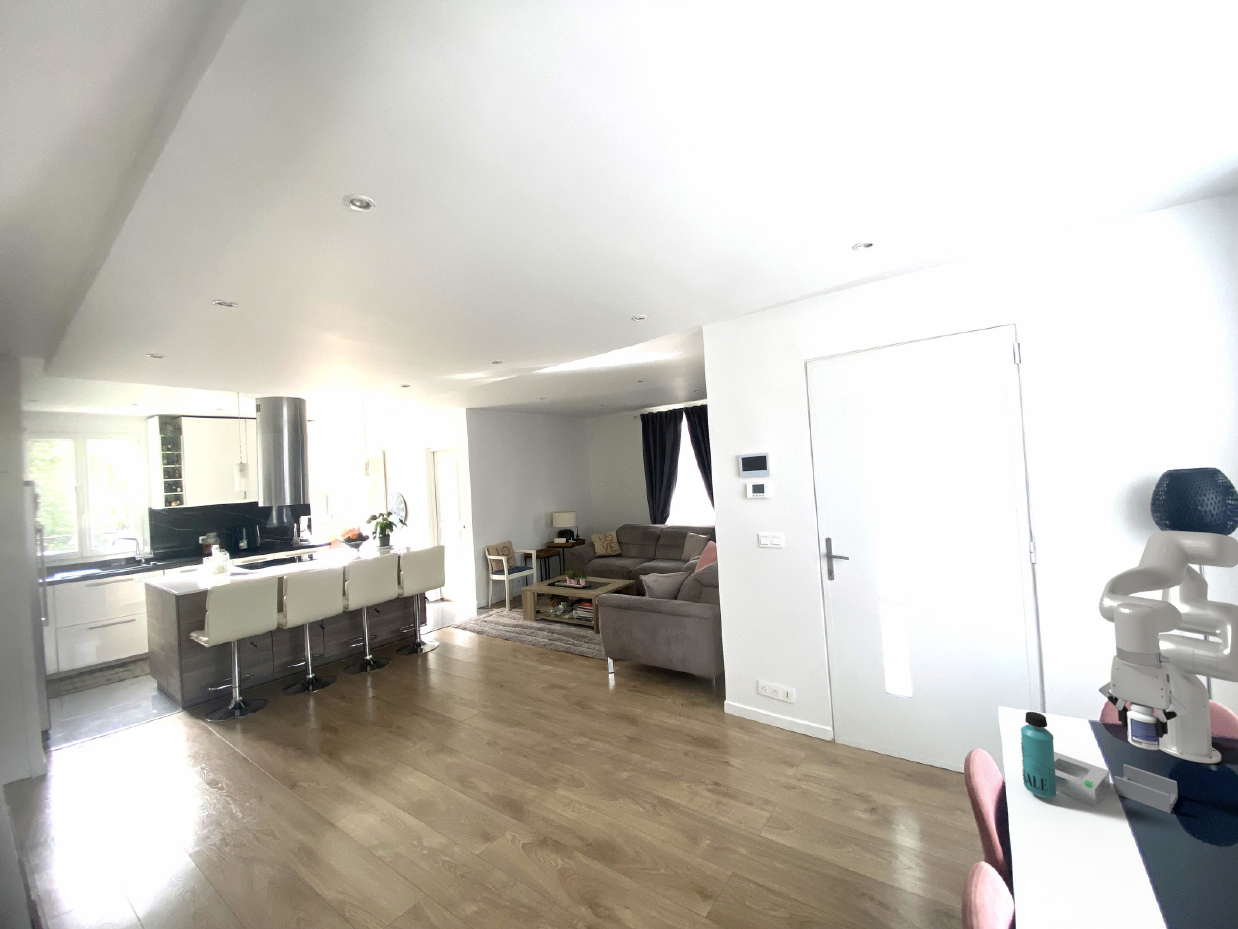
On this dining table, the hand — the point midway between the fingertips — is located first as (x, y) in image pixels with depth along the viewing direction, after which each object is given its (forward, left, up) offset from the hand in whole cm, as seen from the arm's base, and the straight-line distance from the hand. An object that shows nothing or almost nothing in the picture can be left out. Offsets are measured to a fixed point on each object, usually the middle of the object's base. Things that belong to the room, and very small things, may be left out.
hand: (1142, 729), depth 122 cm
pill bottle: (0, 0, -4) cm, 4 cm away
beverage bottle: (+19, -15, -16) cm, 29 cm away
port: (+8, -12, -16) cm, 22 cm away
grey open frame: (0, 0, -16) cm, 16 cm away
